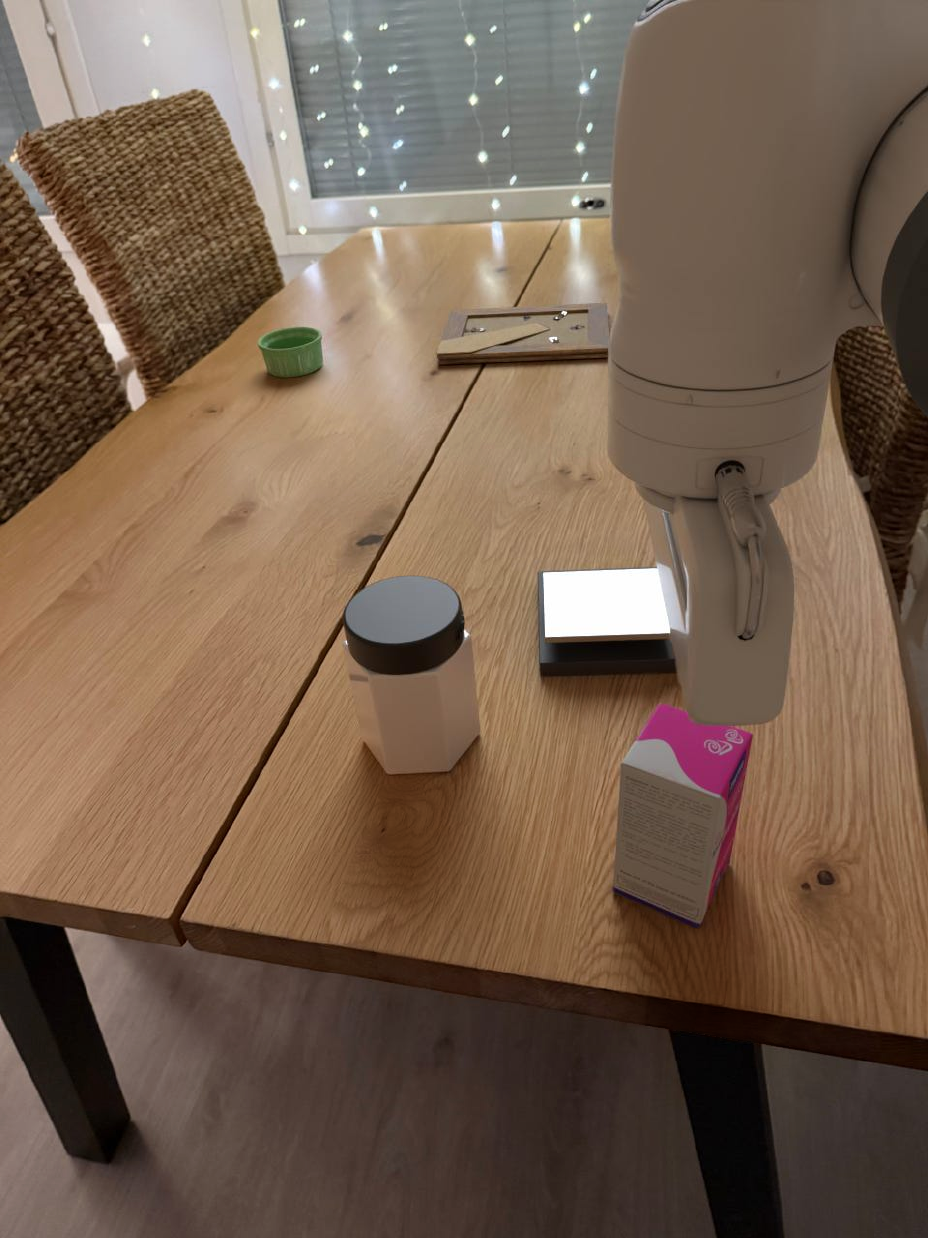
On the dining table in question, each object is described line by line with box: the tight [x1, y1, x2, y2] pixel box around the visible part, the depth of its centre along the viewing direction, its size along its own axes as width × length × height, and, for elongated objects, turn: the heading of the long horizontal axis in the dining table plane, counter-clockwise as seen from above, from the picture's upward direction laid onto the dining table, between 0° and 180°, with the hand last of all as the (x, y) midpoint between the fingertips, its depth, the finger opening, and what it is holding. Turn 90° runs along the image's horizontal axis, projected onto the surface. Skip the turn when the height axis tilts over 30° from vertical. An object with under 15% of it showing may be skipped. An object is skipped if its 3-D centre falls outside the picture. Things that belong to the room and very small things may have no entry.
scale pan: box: [543, 568, 670, 643], centre depth 75 cm, size 10×9×1 cm
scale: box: [537, 566, 676, 677], centre depth 77 cm, size 17×13×3 cm
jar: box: [342, 575, 481, 775], centre depth 66 cm, size 9×8×12 cm
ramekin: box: [257, 326, 324, 378], centre depth 131 cm, size 9×9×4 cm
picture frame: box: [436, 302, 610, 365], centre depth 133 cm, size 19×2×24 cm
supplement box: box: [611, 702, 754, 929], centre depth 54 cm, size 6×6×12 cm
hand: (690, 664), depth 47 cm, fingers closed
